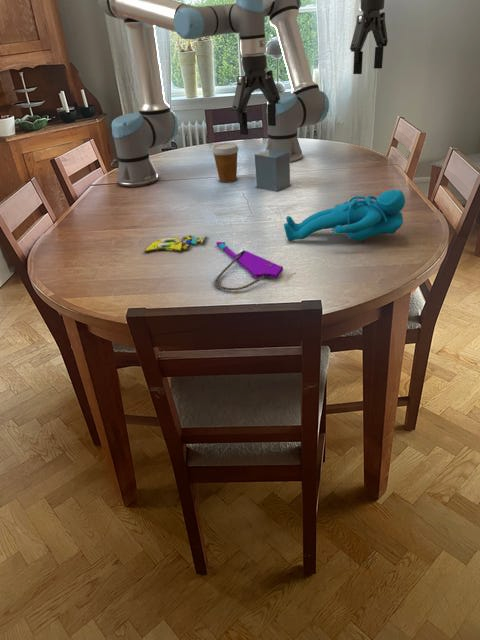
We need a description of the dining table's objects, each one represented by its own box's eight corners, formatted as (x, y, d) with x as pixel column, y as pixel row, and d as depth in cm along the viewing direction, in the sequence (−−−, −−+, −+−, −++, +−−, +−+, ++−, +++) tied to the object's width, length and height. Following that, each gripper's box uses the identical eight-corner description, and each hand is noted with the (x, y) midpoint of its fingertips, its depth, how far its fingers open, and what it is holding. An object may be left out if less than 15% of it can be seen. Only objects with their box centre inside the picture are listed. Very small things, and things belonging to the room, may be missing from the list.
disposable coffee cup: (210, 183, 175) (207, 149, 168) (221, 175, 182) (218, 142, 175) (235, 184, 171) (232, 149, 165) (244, 176, 178) (242, 142, 172)
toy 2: (287, 204, 132) (400, 176, 122) (297, 239, 137) (406, 215, 127) (278, 228, 119) (405, 199, 108) (290, 266, 124) (412, 242, 113)
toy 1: (199, 248, 125) (143, 249, 127) (199, 251, 125) (144, 252, 127) (206, 233, 133) (154, 234, 135) (206, 236, 133) (154, 237, 136)
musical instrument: (257, 302, 103) (298, 254, 115) (255, 294, 102) (297, 246, 114) (172, 286, 116) (218, 244, 128) (170, 279, 114) (216, 237, 127)
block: (277, 191, 161) (275, 157, 155) (256, 187, 167) (254, 154, 161) (290, 185, 166) (289, 152, 160) (269, 181, 171) (268, 149, 165)
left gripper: (234, 60, 134) (240, 139, 145) (289, 50, 148) (291, 122, 160) (215, 60, 138) (223, 137, 150) (270, 50, 153) (274, 121, 164)
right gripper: (362, -4, 141) (358, 76, 153) (402, -7, 156) (395, 66, 168) (340, -2, 146) (338, 76, 157) (381, -5, 161) (376, 66, 172)
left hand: (258, 130), depth 155 cm, fingers open, 13 cm apart
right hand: (367, 71), depth 162 cm, fingers open, 13 cm apart
